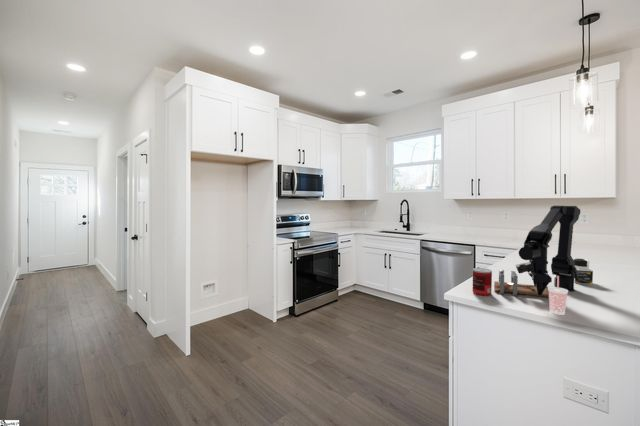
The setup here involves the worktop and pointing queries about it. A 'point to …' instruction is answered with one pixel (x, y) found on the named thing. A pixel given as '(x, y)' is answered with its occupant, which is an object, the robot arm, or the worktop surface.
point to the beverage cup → (557, 299)
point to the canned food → (482, 281)
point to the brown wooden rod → (521, 289)
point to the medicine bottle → (583, 272)
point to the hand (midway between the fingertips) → (538, 292)
